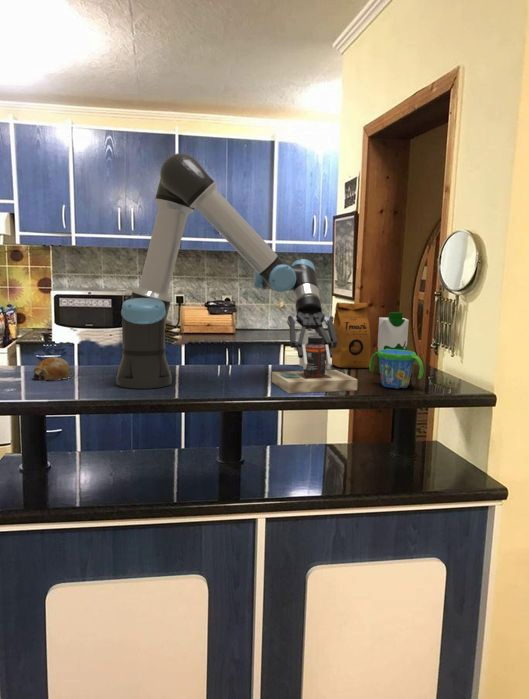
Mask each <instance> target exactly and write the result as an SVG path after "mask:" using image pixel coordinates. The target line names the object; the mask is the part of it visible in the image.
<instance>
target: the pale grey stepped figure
mask: <svg viewBox="0 0 529 699" xmlns="http://www.w3.org/2000/svg"><path fill="white" fill-rule="evenodd" d="M301 329H302V326H301V325H300V324H299V323H297V324H296V323H295V330H298V332H296V335H295V339H296V341H297V342H298V340H299V336H300V332H301ZM310 333H311V335H310ZM312 333H313V334H312ZM315 333H316V331H315V329H306V330H305V334H304V338H303V342H302V345H306V344H307V343H308V337H309V336H314V334H315ZM296 349H297V348H295V347H294V348H293V350H294V351H297V350H296ZM298 364H299V367H303V363H302V358H299V363H298Z"/></svg>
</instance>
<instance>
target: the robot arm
mask: <svg viewBox="0 0 529 699" xmlns="http://www.w3.org/2000/svg"><path fill="white" fill-rule="evenodd" d="M159 175H160V176H159V177H160V179H159V182H158V186H157V190H156V194H155V199H154V201H155V202H156V204H157V206H158V209H157V213H156V217H155V221H154V225H153V229H152V233H151V237H150V241H149V245H148V249H147V252H146V257H145V262H144V266H143V270H142V274H141V277H140V281H139V285H138V286H137V287H136V288H135V289H133V290H131V291H132V292H131V296H130V299H126V300H124V301H123V303H122V306H121V311H120V314H121V326H122V327H121V329H122V330H121V331H122V332H121V333H122V334H121V338H122V345H121V346H122V357H121V360H120V364H119V366H118V370H117V374H116V377H115V378H116V381H115V382H116V384H115V385H117V386H119V387H121V388H126V389H127V388H128V389H138V390H139V389H141V390H142V389H146V390H147V389H157V388H158V389H159V388H162V387H163V388H164V387H167V386H170V385H171V384H172V380H173V379H172V372H171V370H170V366H169V364H168V360H167V357H166V325H167V324H166V323H167V319H168V315H169V310H170V307H171V302H172V300H171V298H170V296H169V295H168V293H169V290H170V289H169V288H170V286H171V281H172V278H173V273H174V269H175V266H176V262H177V258H178V254H179V251H180V246H181V242H182V240H183V234H184V231H185V226H186V223H187V218H188V216H189V215H191V214H192V213H194V212H195V209H196V210H197V211H198V213H200V214H201V215H202V216H203V217H204V218H205V220H207V222H209V223H210V225H212V227H213V228H214V229H215V230H216V231H217V232H218V233H219V234H220V235H221V236H222V237H223V238H224V239H225V240H226V241H227V242H228V243H229V244H230V245H231V247H233V249H234V250H235V251H236V252H237V253H238V254H239V255H240V256H241V257H242V258H243V259H244V260H245V261H246V262H247V263H248V264H249V266H251V267H252V268H253V286H254V288H256V289H261V290H270V291H271V290H272V291H275V292H278V293H285V292H287V291H293V294H294V295H293V296H294V304H295V311H296V315H295V316H292V315H288V317H287V321H286V323H287V325H288V327H289V347H290V348H291V349H294V347H295V348H297V349H296V350H295V351H297V357H298V358H299V359H300V358H302V363H303V366H302V369H303V370H304V369H306V367H307V356H306V349H305V345H302V342H303V338H304V334H305V330H306V329H309V330H310V329H315V333H316V334H317V335H318V336H321V337H322V343H323V344H324V345H325V348H326V350H325V368H326V370H331V365H332V355H333V351H332V348H336V345H337V342H338V341H337V337H336V333H335V329H334V325H333V323H334V317H335V316H334V315H332V316H329V317H328V316H325V315H324V313H323V309H322V303H321V298H320V292H319V287H318V279H317V272H316V268H315V266H314V263H313V262H312V261H311V260H309V259H305V258H301V259H299V260H295V261H294V262H292V264H291V265H288V264H286V263H285V262H284V261H283V259H281V257H280V256H279V255H278V254H277V253H276V252H275V251H274V250H273V249H272V248H271V246H270V245H269V244H267V242H266V241H265V240H264V239H263V237H261V236H260V235H259V233H258V232H257V231H255V229H254V228H253V227H252V226H251V225H250V224H249V223H248V222H247V221H246V219H244V217H242V215H241V214H240V213H239V212H238V211H237V210H236V209H235V208H234V206H232V205H231V203H229V201H228V200H227V199H226V198H225V197H224V196H223V195H222V194H221V193H220V192H219V190H217V188H216V181H214V180H213V178H212V177H211V176H210V175H209V174H208V172H207V171H206V170H205V169H204V168H203V167H202V165H201V164H200V163H199V161H198V160H196V158H194V157H193V156H191V155H189V154H186V153H182V152H181V153H180V152H179V153H175V154H171V155H169V157H167V158H166V159H165V160H164V162H163V163H162V165H161V168H160V174H159ZM323 322H324V323H325V325H326V327H327V328H326V329H327V332H328V334H327V332H326V330H325V328H324V326H323ZM296 323H297V324H300V325H301V326H302V329H300V331H301V332H300V336H299V340H298V342H297V341H296V329H295V325H296Z"/></svg>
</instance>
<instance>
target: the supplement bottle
mask: <svg viewBox="0 0 529 699" xmlns="http://www.w3.org/2000/svg"><path fill="white" fill-rule="evenodd" d="M305 349H306V356H307V367H306V369H303V371H304V376H306V377H310V378H321V377H324V376H325V370H326V361H325V350H326V348H325V345H324V344H323V342H322V337H321V336H319V335H313V336H309V337H308V343H307V344H306V345H305Z"/></svg>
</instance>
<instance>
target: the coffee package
mask: <svg viewBox="0 0 529 699" xmlns="http://www.w3.org/2000/svg"><path fill="white" fill-rule="evenodd" d="M367 307H368V303H367V302H354V303H353V302H352V303H351V302H336V304H335V310H334V312H335V313H334V316H333V317H334V319H333V325H334V329H335V333H336V337H337V341H338V342H337V345H336V348H332V351H333V355H332V358H331V365H332V366H335V367H338V368H342V369H363V368H364V369H365V368H366V369H368V368H369V364H370V360H371V346H372V344H371V343H372V341H371V339H372V337H371V329H370V321H369V318H368V311H367Z"/></svg>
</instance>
